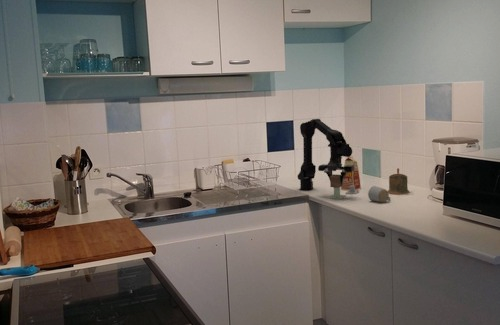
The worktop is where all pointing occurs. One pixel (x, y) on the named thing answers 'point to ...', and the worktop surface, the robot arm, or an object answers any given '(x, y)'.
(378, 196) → the ceramic mug
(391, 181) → the rusty brown bell
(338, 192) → the post
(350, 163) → the milk carton
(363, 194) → the worktop surface
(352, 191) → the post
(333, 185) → the brown rectangular block
